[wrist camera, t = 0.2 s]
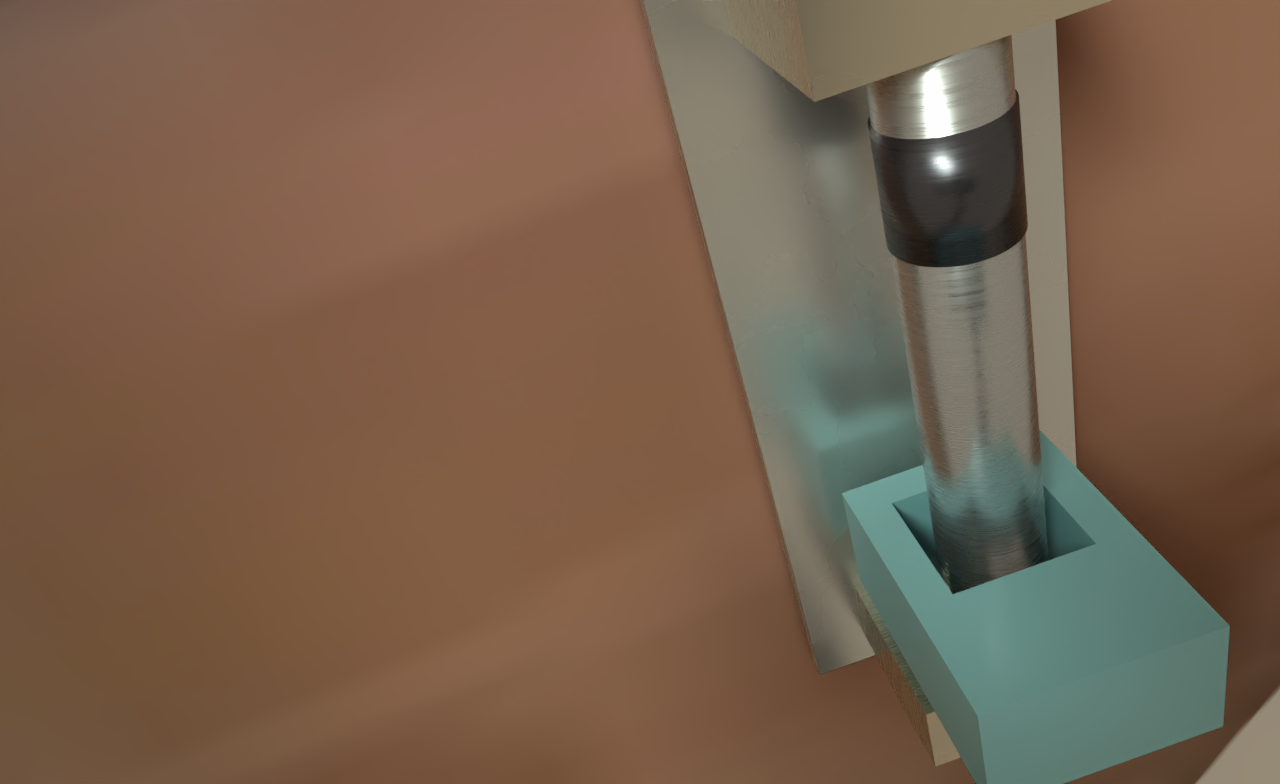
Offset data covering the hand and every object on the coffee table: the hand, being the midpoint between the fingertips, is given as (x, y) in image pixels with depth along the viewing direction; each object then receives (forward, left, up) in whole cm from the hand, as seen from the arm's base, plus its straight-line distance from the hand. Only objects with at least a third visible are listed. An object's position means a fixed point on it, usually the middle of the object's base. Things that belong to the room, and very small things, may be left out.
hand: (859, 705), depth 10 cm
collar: (-10, -6, -13) cm, 17 cm away
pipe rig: (-5, -6, -14) cm, 16 cm away
